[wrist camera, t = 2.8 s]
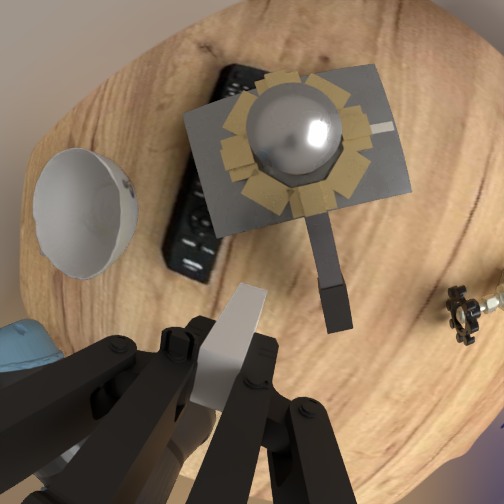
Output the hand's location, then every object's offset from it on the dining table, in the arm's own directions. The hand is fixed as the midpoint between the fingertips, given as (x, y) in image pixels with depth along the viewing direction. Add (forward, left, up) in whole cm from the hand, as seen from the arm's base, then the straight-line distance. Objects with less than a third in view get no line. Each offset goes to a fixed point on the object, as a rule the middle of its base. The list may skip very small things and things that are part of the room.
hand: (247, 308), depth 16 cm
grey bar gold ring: (+5, +4, -11) cm, 13 cm away
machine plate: (+5, +9, -14) cm, 17 cm away
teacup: (-17, +9, -14) cm, 24 cm away
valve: (+23, -10, -15) cm, 30 cm away
